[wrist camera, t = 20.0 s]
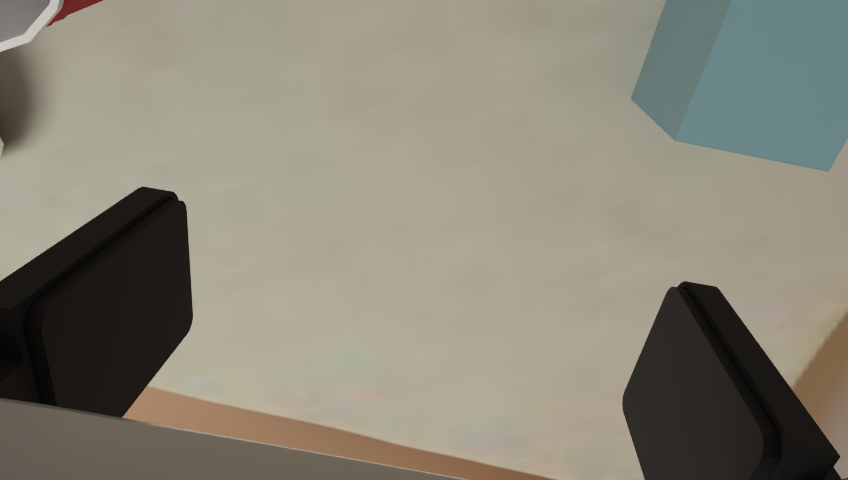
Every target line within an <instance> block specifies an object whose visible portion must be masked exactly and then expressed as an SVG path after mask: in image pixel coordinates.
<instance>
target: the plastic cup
mask: <svg viewBox="0 0 848 480" xmlns="http://www.w3.org/2000/svg"><path fill="white" fill-rule="evenodd" d="M100 1H103V0H0V52H1V51H4V50H7V49H10V48H13V47H16V46H19V45H22V44H25V43H28V42H30V41H32V40H34V39H36V38H37V37H38V35H39V34H40V33H41V32H42V31H43V30H44V28H45V27H47V26H50V25H52V24H53V22H56V21H59V20H61V19H64V18H65V17H66V16H67V15H69V14H71V13H74V12H76V11H78V10H81V9H83V8H86V7H88V6H91V5H93V4H95V3H98V2H100Z"/></svg>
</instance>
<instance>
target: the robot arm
mask: <svg viewBox="0 0 848 480" xmlns="http://www.w3.org/2000/svg"><path fill="white" fill-rule="evenodd" d="M192 319H193V310H192V293H191V276H190V260H189V243H188V226H187V210H186V205H185V203H184V202H183V201H179V200H178V197H177V195H176V194H175V193H174V192H171V191H165V190H159V189H154V188H148V187H141V188H138V189H137V190H135V191H134V192H132V193H131V194H129V195H128V196H126V197H125V198H123V199H122V200H120V201H119V202H118V203H116V204H115V205H113V206H112V207H110V208H109V209H107V210H106V211H104V212H103V213H101V214H100V215H98V216H97V217H95V218H94V219H92V220H91V221H89V222H88V223H86V224H85V225H83V226H82V227H80V228H79V229H77V230H76V231H74V232H73V233H71V234H70V235H68V236H67V237H65V238H64V239H62V240H61V241H59V242H58V243H57V244H55V245H54V246H52V247H51V248H49V249H48V250H46V251H45V252H43V253H42V254H40V255H39V256H37V257H36V258H34V259H33V260H31V261H30V262H28V263H27V264H25V265H24V266H22V267H21V268H19V269H18V270H16V271H15V272H13V273H12V274H10V275H9V276H7V277H6V278H4V279H3V280H1V281H0V480H469V479H463V478H458V477H452V476H447V475H441V474H436V473H430V472H425V471H419V470H413V469H407V468H403V467H397V466H391V465H386V464H380V463H375V462H369V461H364V460H358V459H352V458H346V457H341V456H336V455H330V454H324V453H319V452H313V451H307V450H302V449H296V448H291V447H285V446H279V445H274V444H268V443H262V442H257V441H251V440H245V439H240V438H234V437H228V436H222V435H217V434H211V433H205V432H200V431H194V430H188V429H183V428H177V427H171V426H165V425H159V424H153V423H148V422H143V421H136V420H130V419H125V418H122V416H124V414H125V413H126V412H127V410H128V409H129V408H130V407H131V405H132V404H133V403H134V401H135V400H136V399H137V398H138V396H139V395H140V394H141V393H142V391H143V390H144V389H145V387H146V386H147V385H148V384H149V382H150V381H151V380H152V378H153V377H154V376H155V375H156V373H157V372H158V371H159V370H160V368H161V367H162V366H163V364H164V363H165V362H166V361H167V359H168V358H169V357H170V355H171V354H172V353H173V352H174V350H175V349H176V348H177V346H178V345H179V344H180V343H181V341H182V340H183V339H184V337H185V336H186V335H187V333H188V332H189V330H190V327H191V324H192ZM623 412H624V415H625V418H626V422H627V425H628V428H629V431H630V434H631V437H632V440H633V444H634V447H635V450H636V453H637V456H638V459H639V462H640V466H641V469H642V472H643V475H644V478H645V480H848V478H844V479H841V478H840V476H839V475H838V474H837V472H836V470H835V469H834V467H833V466H834V465H835V463H836V462H837V461H838V459H839V458H840V456H839V454H838V453H837V451H836V450H835V449H834V447H833V446H832V444H831V443H830V442H829V440H828V439H827V438H826V436H825V435H824V434H823V432H822V431H821V429H820V428H819V427H818V425H817V424H816V422H815V421H814V420H813V418H812V417H811V416H810V414H809V413H808V412H807V410H806V409H805V407H804V406H803V405H802V403H801V402H800V400H799V399H798V398H797V396H796V395H795V393H794V392H793V391H792V389H791V388H790V387H789V385H788V384H787V382H786V381H785V380H784V378H783V377H782V376H781V374H780V373H779V371H778V370H777V369H776V367H775V366H774V365H773V363H772V362H771V360H770V359H769V358H768V356H767V355H766V353H765V352H764V351H763V349H762V348H761V347H760V345H759V344H758V342H757V341H756V340H755V338H754V337H753V336H752V334H751V333H750V331H749V330H748V329H747V327H746V326H745V325H744V323H743V322H742V320H741V319H740V318H739V316H738V315H737V313H736V312H735V311H734V309H733V308H732V307H731V305H730V304H729V302H728V301H727V300H726V298H725V297H724V296H723V294H722V293H721V291H720V290H719V289H718V288H717V287H714V286H709V285H703V284H697V283H692V282H686V281H684V282H682V283H681V284H680V285H679V286H678V287H671V288H670V289H669V290H668V291H667V293H666V295H665V298H664V300H663V302H662V305H661V307H660V309H659V312H658V314H657V316H656V319H655V321H654V323H653V326H652V328H651V330H650V333H649V335H648V338H647V340H646V342H645V345H644V347H643V349H642V352H641V354H640V356H639V359H638V361H637V363H636V366H635V368H634V370H633V373H632V375H631V377H630V380H629V382H628V385H627V387H626V389H625V392H624V395H623Z"/></svg>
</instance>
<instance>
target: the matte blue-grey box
mask: <svg viewBox="0 0 848 480" xmlns="http://www.w3.org/2000/svg"><path fill="white" fill-rule="evenodd" d="M631 100H633V101H634V102H635V103H636V104H637V105H638V106H639V107H640V108H641V109H642V110H643V111H644V112H645V113H646V114H647V115H648V116H649V117H650V118H651V119H653V120H654V121H655V122H656V123H657V124H658V125H659V126H660V127H661V128H662V129H663V130H664V131H665V132H666V133H667V134H668V135H669V136H670V137H671V138H672V139H674V140H675V141H679V142H684V143H689V144H694V145H699V146H704V147H709V148H714V149H719V150H723V151H728V152H733V153H738V154H743V155H748V156H753V157H758V158H763V159H768V160H773V161H778V162H783V163H788V164H793V165H797V166H802V167H807V168H812V169H817V170H822V171H827V172H829V170H830V168H831V167H832V165H833V163H834V161H835V160H836V158H837V156H838V154H839V152H840V151H841V149H842V147H843V145H844V144H845V142H846V140H847V138H848V0H666V3H665V6H664V9H663V12H662V14H661V17H660V20H659V23H658V26H657V28H656V31H655V34H654V37H653V40H652V42H651V45H650V48H649V51H648V54H647V56H646V59H645V62H644V65H643V68H642V70H641V73H640V76H639V79H638V82H637V84H636V87H635V90H634V93H633V96H632V98H631Z"/></svg>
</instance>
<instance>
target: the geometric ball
mask: <svg viewBox="0 0 848 480" xmlns="http://www.w3.org/2000/svg"><path fill="white" fill-rule="evenodd" d="M3 147H4V143H3V141H2V140H1V138H0V158H1V154H2V150H3Z"/></svg>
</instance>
